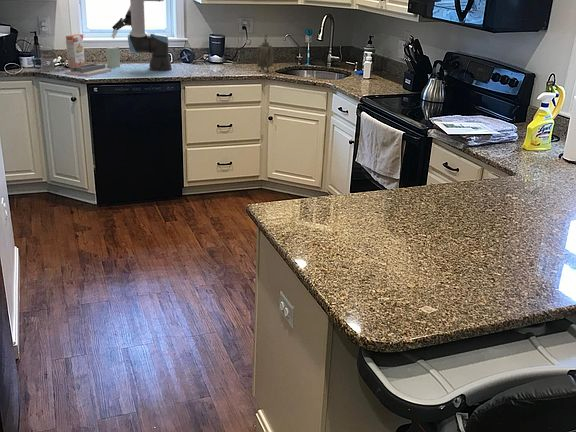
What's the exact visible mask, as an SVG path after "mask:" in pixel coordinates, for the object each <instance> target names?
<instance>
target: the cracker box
mask: <svg viewBox="0 0 576 432" xmlns="http://www.w3.org/2000/svg"><path fill="white" fill-rule="evenodd" d="M65 45H66V55H67V56H66V57H67V67H68V68H69V69H70V68H71V67H76V66H81V65H86V63H85V61H86V60H85V49H84V47H85V46H84V45H85V44H84V34H81V33H79V34H78V33H75V34H70V35H65Z"/></svg>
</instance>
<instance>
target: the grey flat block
mask: <svg viewBox="0 0 576 432" xmlns="http://www.w3.org/2000/svg"><path fill="white" fill-rule="evenodd" d="M108 72H112V68H108V67H107V66H106V63H102V64H99V63H98V64H97V63H96V62H92V63H87V64H86V63H85V65H81V66H76V67H71V68H69V70H64V74H70V75H77V76H85V77H90V76H91V77H92V76H95V75H99V74H104V73H108Z"/></svg>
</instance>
